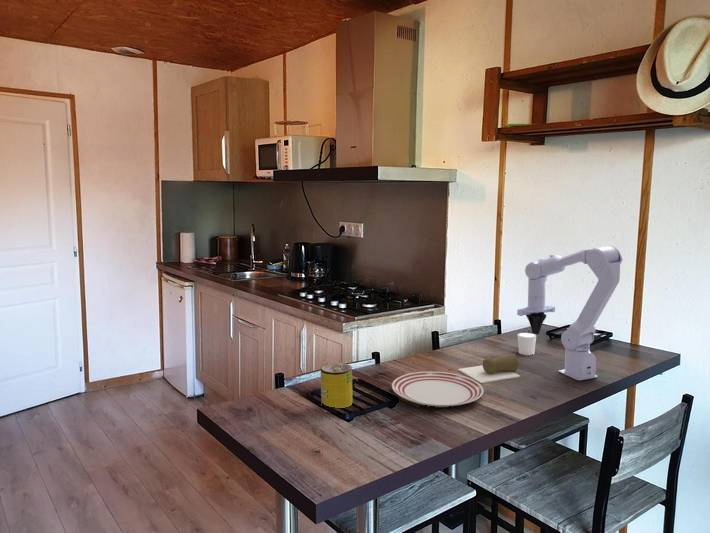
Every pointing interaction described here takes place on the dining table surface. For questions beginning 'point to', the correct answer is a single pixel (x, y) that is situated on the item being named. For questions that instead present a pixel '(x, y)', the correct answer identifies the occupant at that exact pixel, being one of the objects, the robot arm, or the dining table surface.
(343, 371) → the yellow tin can
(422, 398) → the dinner plate
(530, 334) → the white short cylinder
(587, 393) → the dining table surface
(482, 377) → the mat
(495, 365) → the olive waisted cylinder
